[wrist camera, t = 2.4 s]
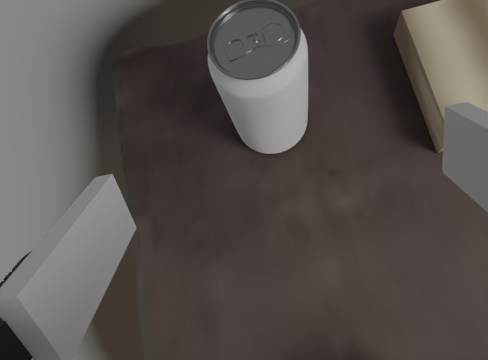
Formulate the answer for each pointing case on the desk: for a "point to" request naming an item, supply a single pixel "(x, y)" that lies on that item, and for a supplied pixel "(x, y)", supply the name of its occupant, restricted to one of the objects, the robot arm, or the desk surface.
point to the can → (261, 72)
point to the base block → (445, 57)
